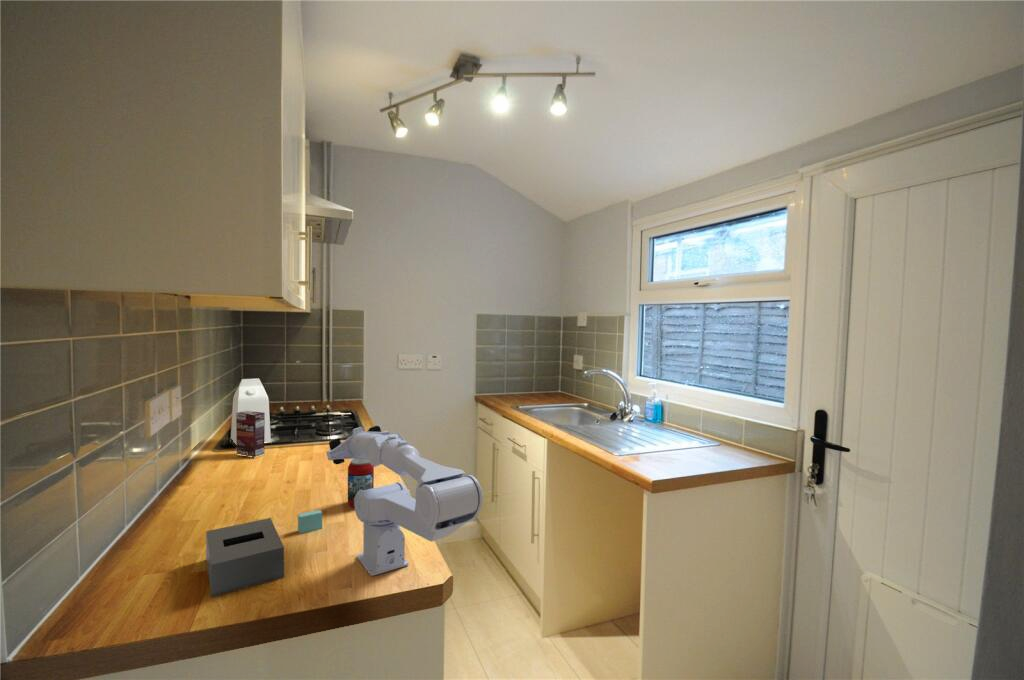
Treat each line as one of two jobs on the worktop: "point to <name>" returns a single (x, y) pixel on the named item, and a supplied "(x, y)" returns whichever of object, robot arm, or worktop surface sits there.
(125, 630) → the worktop surface
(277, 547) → the coin box
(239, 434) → the supplement box
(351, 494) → the beverage can
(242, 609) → the worktop surface
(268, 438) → the milk
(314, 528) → the teal rectangular brick
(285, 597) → the worktop surface
